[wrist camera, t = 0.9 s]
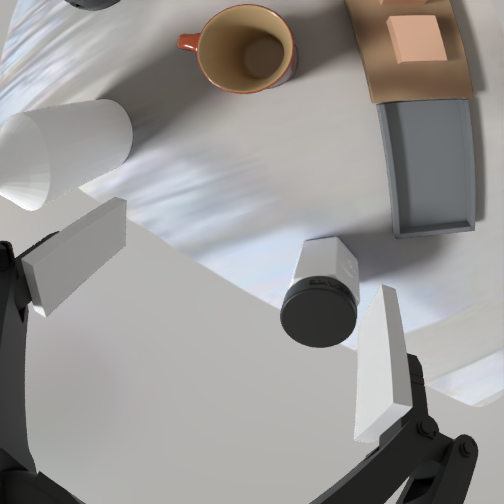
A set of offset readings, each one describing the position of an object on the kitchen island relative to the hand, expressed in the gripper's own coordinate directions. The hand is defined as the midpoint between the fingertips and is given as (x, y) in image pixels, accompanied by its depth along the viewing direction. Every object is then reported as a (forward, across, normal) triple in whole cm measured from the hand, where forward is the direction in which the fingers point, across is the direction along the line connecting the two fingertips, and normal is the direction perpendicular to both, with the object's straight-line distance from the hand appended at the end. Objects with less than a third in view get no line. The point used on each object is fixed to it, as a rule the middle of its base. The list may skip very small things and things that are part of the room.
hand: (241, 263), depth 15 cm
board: (+25, +7, +20) cm, 33 cm away
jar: (+25, +7, -13) cm, 29 cm away
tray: (+25, +15, +4) cm, 30 cm away
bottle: (+26, -29, -4) cm, 39 cm away
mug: (+26, -8, +10) cm, 29 cm away
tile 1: (+22, +8, +18) cm, 30 cm away
